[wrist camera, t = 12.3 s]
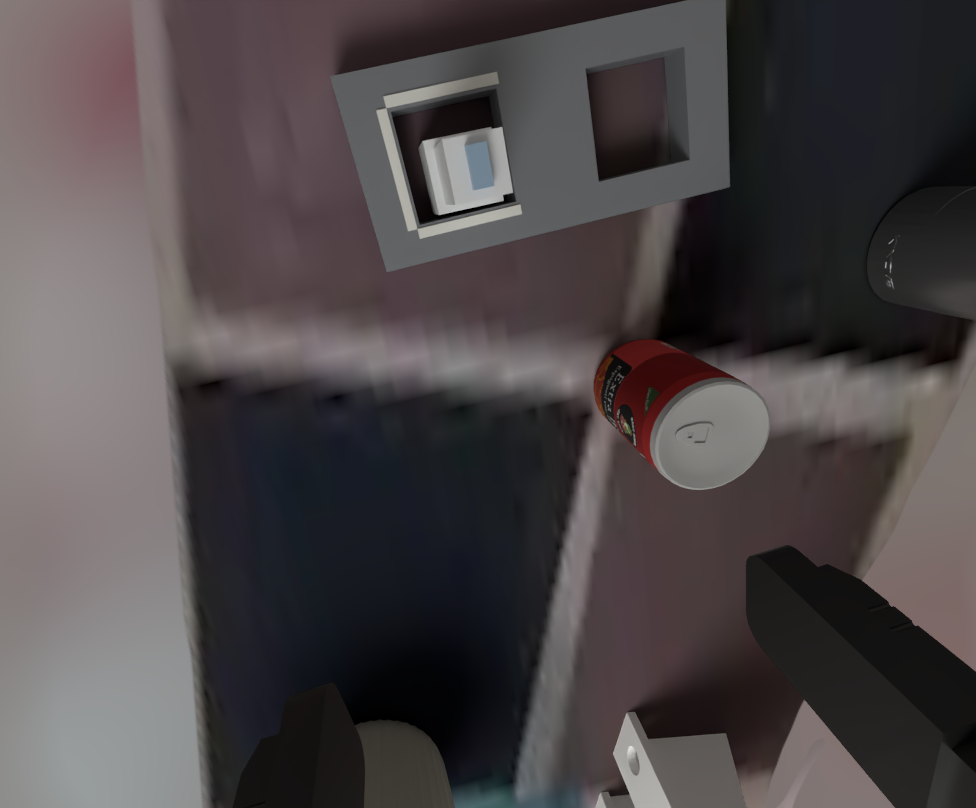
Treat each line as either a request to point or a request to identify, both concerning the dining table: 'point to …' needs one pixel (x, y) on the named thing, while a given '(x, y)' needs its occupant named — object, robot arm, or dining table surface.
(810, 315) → the dining table surface
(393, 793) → the canister
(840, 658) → the robot arm
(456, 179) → the plug
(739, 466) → the canned food
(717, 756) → the white bracket plate
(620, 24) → the panel
